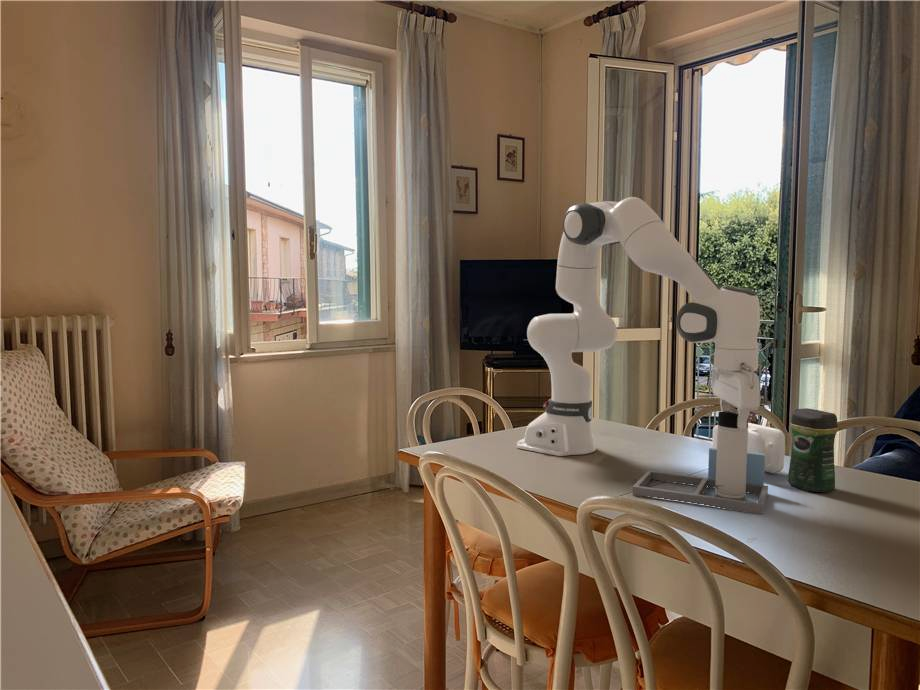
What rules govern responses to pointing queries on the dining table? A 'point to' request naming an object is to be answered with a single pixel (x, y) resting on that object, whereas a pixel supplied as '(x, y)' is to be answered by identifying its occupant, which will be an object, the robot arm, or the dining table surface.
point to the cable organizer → (763, 445)
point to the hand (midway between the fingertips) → (733, 423)
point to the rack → (710, 485)
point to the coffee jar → (813, 450)
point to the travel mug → (731, 458)
